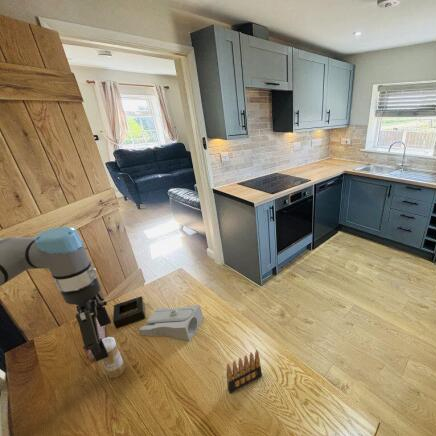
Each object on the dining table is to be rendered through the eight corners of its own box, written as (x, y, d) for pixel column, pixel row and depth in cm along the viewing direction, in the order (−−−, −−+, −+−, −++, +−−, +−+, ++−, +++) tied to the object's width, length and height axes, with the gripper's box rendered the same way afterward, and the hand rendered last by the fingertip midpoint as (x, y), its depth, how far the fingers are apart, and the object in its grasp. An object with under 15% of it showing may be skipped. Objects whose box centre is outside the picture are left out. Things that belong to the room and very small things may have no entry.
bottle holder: (115, 329, 92) (112, 321, 90) (116, 312, 100) (114, 305, 98) (145, 318, 97) (143, 311, 95) (144, 303, 104) (141, 296, 103)
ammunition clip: (259, 371, 78) (258, 346, 73) (262, 376, 76) (260, 350, 72) (227, 388, 73) (223, 362, 68) (229, 393, 72) (225, 367, 67)
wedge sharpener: (189, 341, 88) (186, 327, 85) (140, 334, 90) (135, 321, 87) (203, 318, 97) (201, 305, 95) (158, 312, 100) (154, 299, 97)
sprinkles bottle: (105, 377, 75) (91, 349, 70) (116, 364, 79) (104, 335, 74) (119, 379, 75) (106, 350, 69) (129, 365, 79) (117, 337, 73)
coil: (104, 346, 80) (103, 313, 93) (86, 353, 77) (88, 317, 90) (107, 356, 82) (105, 322, 95) (89, 363, 79) (90, 327, 92)
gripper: (91, 308, 55) (118, 368, 63) (100, 256, 74) (120, 308, 82) (47, 322, 51) (82, 383, 60) (69, 264, 70) (93, 317, 79)
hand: (104, 340), depth 71 cm, fingers open, 13 cm apart
